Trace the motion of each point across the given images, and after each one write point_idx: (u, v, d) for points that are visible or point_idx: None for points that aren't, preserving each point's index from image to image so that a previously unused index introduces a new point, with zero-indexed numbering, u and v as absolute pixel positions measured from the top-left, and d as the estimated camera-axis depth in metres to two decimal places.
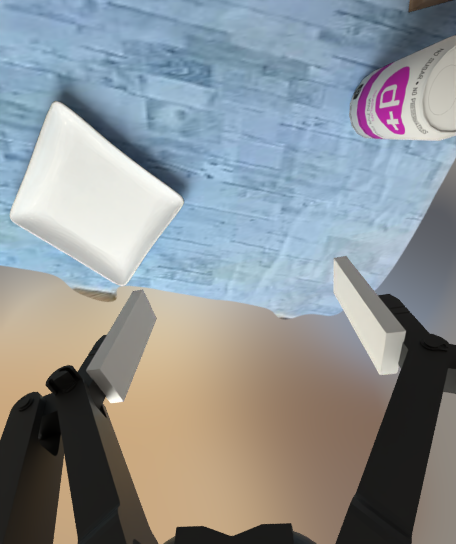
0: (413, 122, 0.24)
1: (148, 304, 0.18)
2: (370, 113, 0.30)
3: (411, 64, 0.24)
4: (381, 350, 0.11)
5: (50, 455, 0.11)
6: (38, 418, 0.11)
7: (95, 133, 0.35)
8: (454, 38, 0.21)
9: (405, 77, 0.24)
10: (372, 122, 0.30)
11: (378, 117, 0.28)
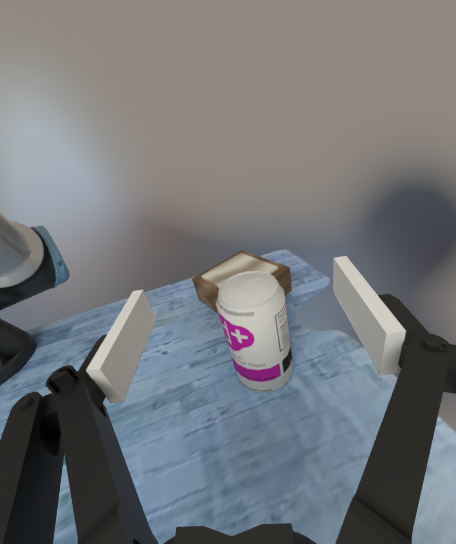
0: (238, 316, 0.27)
1: (148, 304, 0.18)
2: (237, 358, 0.31)
3: None
4: (381, 350, 0.11)
5: (50, 455, 0.11)
6: (38, 418, 0.11)
7: None
8: None
9: None
10: (244, 361, 0.30)
11: (238, 349, 0.30)
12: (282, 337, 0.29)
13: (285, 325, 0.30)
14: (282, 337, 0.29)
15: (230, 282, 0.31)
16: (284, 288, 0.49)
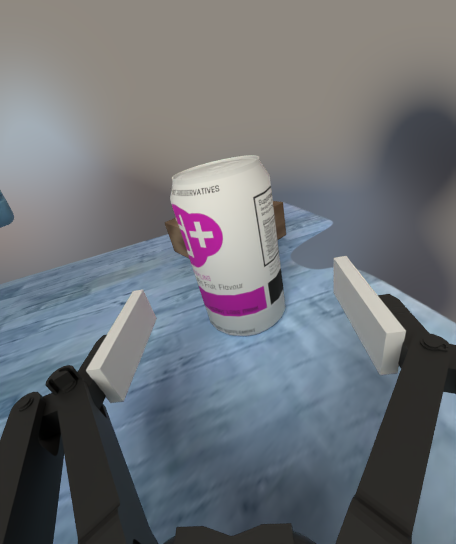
0: (195, 195, 0.17)
1: (148, 304, 0.18)
2: (203, 280, 0.22)
3: None
4: (381, 350, 0.11)
5: (50, 455, 0.11)
6: (38, 418, 0.11)
7: None
8: None
9: None
10: (212, 281, 0.21)
11: (203, 263, 0.20)
12: (266, 242, 0.20)
13: (271, 225, 0.20)
14: (267, 242, 0.20)
15: (192, 170, 0.22)
16: (277, 229, 0.40)
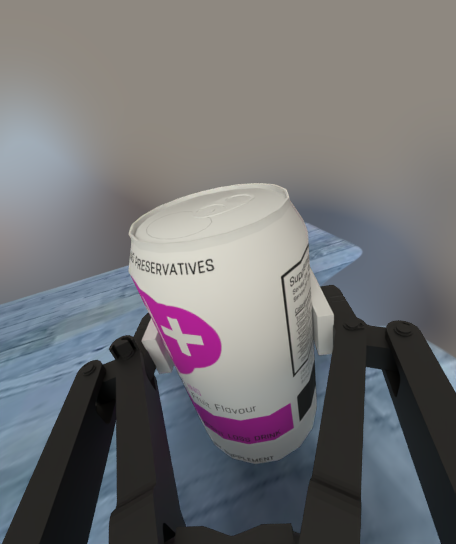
0: (167, 275, 0.09)
1: None
2: (189, 389, 0.13)
3: None
4: (317, 332, 0.13)
5: (103, 423, 0.11)
6: (97, 386, 0.12)
7: None
8: None
9: None
10: (204, 398, 0.12)
11: (187, 372, 0.12)
12: (299, 340, 0.11)
13: (307, 309, 0.11)
14: (300, 338, 0.11)
15: (172, 208, 0.13)
16: None
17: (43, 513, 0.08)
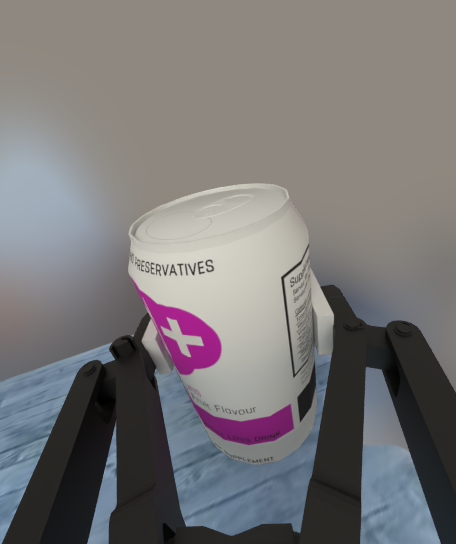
0: (167, 276, 0.09)
1: None
2: (189, 390, 0.13)
3: None
4: (317, 332, 0.13)
5: (103, 423, 0.11)
6: (97, 386, 0.12)
7: None
8: None
9: None
10: (204, 399, 0.12)
11: (187, 372, 0.12)
12: (299, 341, 0.11)
13: (307, 309, 0.11)
14: (300, 339, 0.11)
15: (172, 208, 0.13)
16: None
17: (43, 513, 0.08)
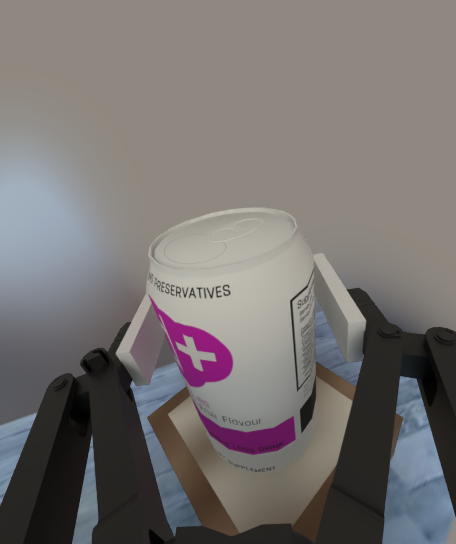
0: (187, 298, 0.09)
1: None
2: (198, 401, 0.14)
3: None
4: (346, 339, 0.12)
5: (79, 436, 0.11)
6: (70, 400, 0.11)
7: None
8: None
9: None
10: (213, 410, 0.13)
11: (198, 385, 0.12)
12: (303, 357, 0.12)
13: (311, 327, 0.12)
14: (304, 355, 0.12)
15: (185, 229, 0.14)
16: None
17: (19, 532, 0.07)
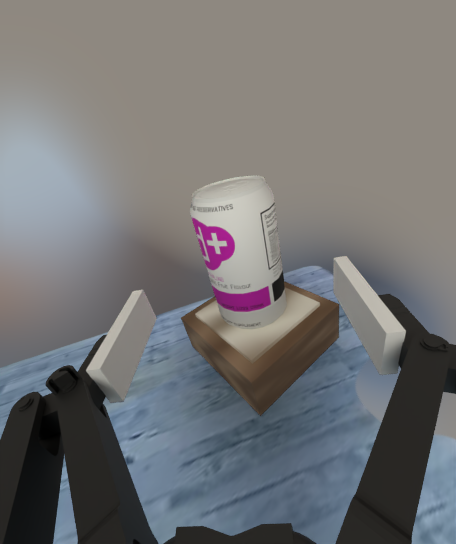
0: (213, 211, 0.21)
1: (148, 304, 0.18)
2: (217, 280, 0.25)
3: None
4: (381, 350, 0.11)
5: (50, 455, 0.11)
6: (38, 418, 0.11)
7: None
8: None
9: None
10: (225, 282, 0.25)
11: (217, 266, 0.24)
12: (270, 249, 0.24)
13: (275, 235, 0.24)
14: (271, 249, 0.24)
15: (208, 188, 0.25)
16: (329, 336, 0.30)
17: None
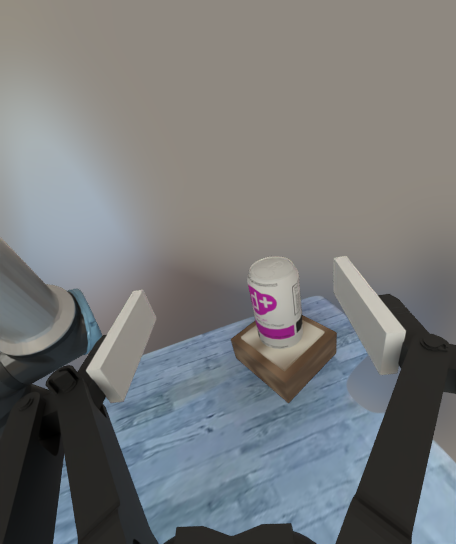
0: (265, 286, 0.38)
1: (148, 304, 0.18)
2: (262, 321, 0.42)
3: None
4: (381, 350, 0.11)
5: (50, 455, 0.11)
6: (38, 418, 0.11)
7: None
8: None
9: (249, 287, 0.41)
10: (268, 322, 0.41)
11: (264, 313, 0.41)
12: (296, 304, 0.40)
13: (298, 295, 0.40)
14: (296, 304, 0.40)
15: (257, 264, 0.42)
16: (330, 353, 0.47)
17: None
